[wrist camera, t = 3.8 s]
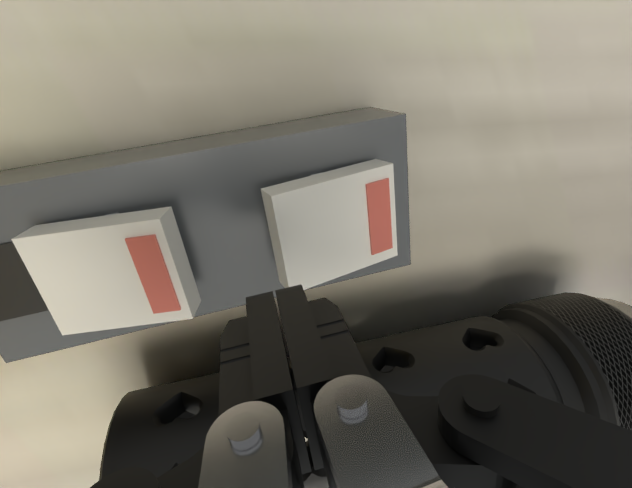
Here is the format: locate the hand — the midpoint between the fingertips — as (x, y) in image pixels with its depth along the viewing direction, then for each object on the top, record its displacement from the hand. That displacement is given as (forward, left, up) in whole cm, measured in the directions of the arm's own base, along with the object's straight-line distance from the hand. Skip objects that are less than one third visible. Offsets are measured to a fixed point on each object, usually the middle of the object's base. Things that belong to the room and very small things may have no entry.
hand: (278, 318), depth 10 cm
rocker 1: (+5, 0, -6) cm, 8 cm away
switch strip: (+2, 0, -10) cm, 11 cm away
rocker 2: (-3, 0, -6) cm, 6 cm away
